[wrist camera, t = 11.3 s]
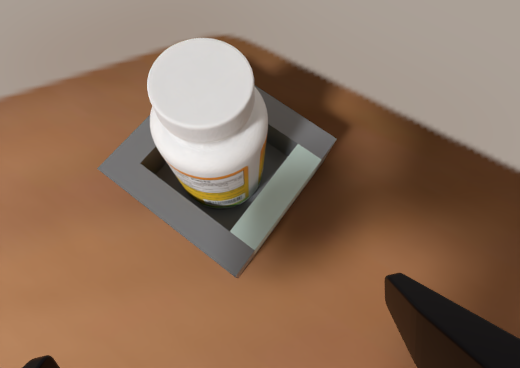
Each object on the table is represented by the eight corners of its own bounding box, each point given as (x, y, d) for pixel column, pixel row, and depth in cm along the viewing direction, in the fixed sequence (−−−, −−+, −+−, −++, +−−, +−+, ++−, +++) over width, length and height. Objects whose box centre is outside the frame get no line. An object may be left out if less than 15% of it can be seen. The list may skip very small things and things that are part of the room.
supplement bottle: (218, 119, 22) (197, -1, 13) (278, 166, 21) (302, 73, 12) (163, 175, 21) (94, 85, 11) (225, 227, 20) (204, 176, 10)
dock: (237, 278, 20) (235, 276, 16) (121, 186, 21) (97, 168, 18) (324, 160, 22) (336, 138, 19) (214, 87, 24) (208, 55, 21)
